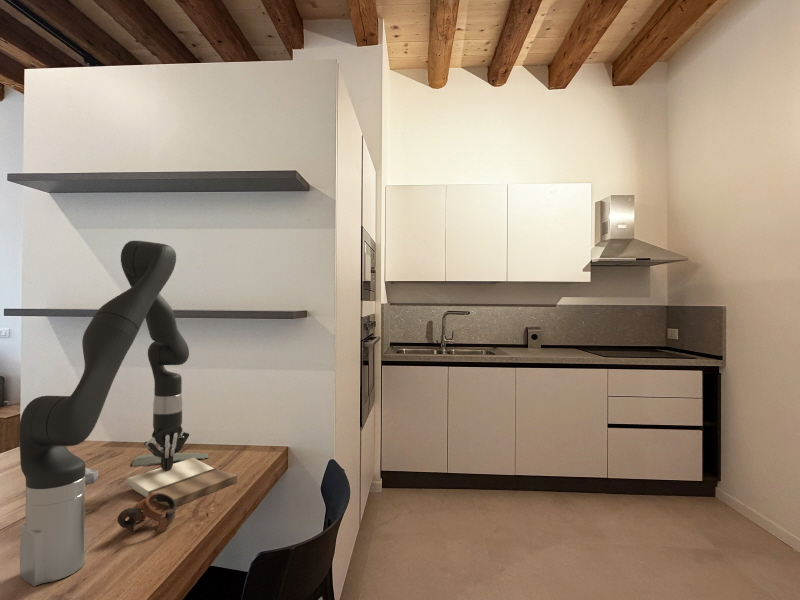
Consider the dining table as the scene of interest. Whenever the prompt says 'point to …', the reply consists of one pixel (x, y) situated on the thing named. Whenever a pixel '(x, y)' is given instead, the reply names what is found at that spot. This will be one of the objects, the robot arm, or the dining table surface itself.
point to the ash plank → (166, 476)
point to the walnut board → (196, 486)
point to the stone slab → (151, 459)
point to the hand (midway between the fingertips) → (167, 469)
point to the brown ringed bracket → (148, 513)
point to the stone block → (90, 476)
